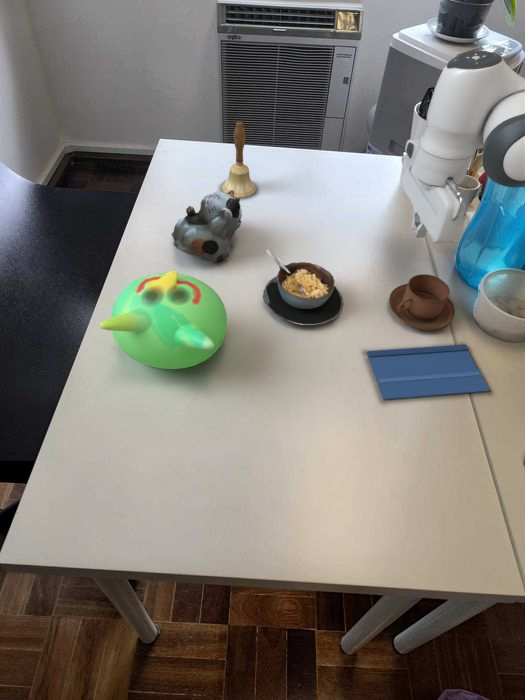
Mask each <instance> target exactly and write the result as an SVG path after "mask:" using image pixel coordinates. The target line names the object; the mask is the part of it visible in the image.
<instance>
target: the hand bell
mask: <svg viewBox="0 0 525 700" xmlns="http://www.w3.org/2000/svg"><path fill="white" fill-rule="evenodd" d="M235 124H236V125H235V128H234V131H233V143H234V147H235V163H233V164H232V165H231V166H230V167H229V174H228V178H227V179H226V181H224V182H223V183H222V186H221V190H222V192H225V193H228V192H229V191H231V190H233V191H234V199H236V198H239V199H245V198H249V197H252V196H253V195H254V194H256V191H257V186H256V184H255V183H254V182H253V181H252V179H251V176H250V168H249V166H247V164H244V148H245V144H246V131H245V127H244V124H243V121H240V120H239V121H236V123H235Z"/></svg>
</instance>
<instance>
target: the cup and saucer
mask: <svg viewBox="0 0 525 700" xmlns="http://www.w3.org/2000/svg"><path fill="white" fill-rule="evenodd" d="M450 294H451V290H450V287H449V285H448V284H447V283H446V282H445V281H444V280H443V279H441V278H439V277H438V276H435V275H433V274H425V273H424V274H423V273H422V274H421V273H420V274H417V275H414V276H412V277H411V278H410V279H409V281H408V283H405V284H401V285H398V286H396V287H395V288H394V289H393V290H392V291H391V293H390V295H389V298H388V300H389V301H388V303H389V307H390V310H391V312H392V313H393V315H395V317H396V318H397V319H398V320H400V321H401V322H402V323H404V324H405V325H408V326H409V327H412V328H414V329H418V330H424V331H425V330H426V331H431V330H432V331H433V330H439V329H443V328H444V327H447V326H448V325H449V324H450V323H451V322H452V321H453V320H454V318H455V314H456V313H455V312H456V310H455V306H454V304H453V302H452V300H451V299H450V298H449V297H450Z"/></svg>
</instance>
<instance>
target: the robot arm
mask: <svg viewBox="0 0 525 700" xmlns="http://www.w3.org/2000/svg"><path fill="white" fill-rule="evenodd" d="M478 149H482V168H483V171H484V172H485V174H486V176H487V177H488V178H489V179H490V180H491V181H492V182H493V183H496V184H497V185H499V186H502V187H507V188H524V187H525V77H523V76H521V75H520V74H518V73H517V72H515V71H514V70H513V69H512V68H511V67H510V66H509V65H508V63H506V61H505V59H504V58H503V56H502V55H500V54H499V53H497V52H493V51H492V52H491V51H488V50H472V51H467V52H463V53H461V54H459V55H456V56H454V57H453V58H452V59H450V60H449V61H448V62H447V63H446V65H445V66H444V68H443V70H442V71H441V73H440V75H439V77H438V80H437V82H436V85H435V88H434V90H433V92H432V95H431V99H430V102H429V105H428V109H427V112H426V123H425V128H424V131H423V133H422V134H421V136H420V138H412V139H411V138H410V139H407V141H406V144H405V148H404V152H405V154H404V159H403V161H402V165H401V171H400V186H401V188H402V190H403V192H404V193H405V194H406V196H407V198H408V200H409V202H410V203H411V205H412V207H413V209H412V224H411V226H410V228H411V230H412V232H413V234H414V235H415V237H416V238H417V239H423V238H425V237H426V235H427V233H428V235H429V236H430V238H431V240H432V242H433V243H434V244H450V243H453V242H455V241H456V240H457V239H458V237H459V234H460V231H461V228H462V225H463V221H464V219H465V214H466V209H467V204H466V201H465V199H464V192H463V191H462V189H460V188H459V186H458V185H460V184H461V183H463V181H464V180H465V178H466V176H467V173H468V170H469V168H470V165H471V163H472V160H473V157H474V155H475V152H476V151H477V150H478Z"/></svg>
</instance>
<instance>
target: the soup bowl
mask: <svg viewBox="0 0 525 700" xmlns="http://www.w3.org/2000/svg"><path fill="white" fill-rule="evenodd" d="M266 254H267V255H269V257H271V258H272V259H273V260H274V262H275V263H276V264H277V265H278V267H279V270H278V272H277V275H276V276H275V277H272V278H271V279H270V280H269V281H268V283H266V285H265V288H264V289H263V294H262V298H263V301H264V303H265V305H266V306H267V307H268V309H269V310H270V311H271V312H272V313H274V314H275V315H277V316H278V317H279V318H281V319H283V320H284V321H287V322H289V323H293V324H294V325H295V324H296V325H301V326H314V325H321V324H325V323H328V322H333V321H335V319H337V318H338V317H339V315H340V314H341V312H342V311H343V308H344V299H343V296H342V294H341V292H340V291H339V289H338V288H337V286H335V285H336V283H335V282H336V280H335V279H334V276H333V274H332V273H331V272H330V270H329V271H328V270H327V269H325V268H324V267H323V266H320V265H319V264H316V263H311V262H304V261H300V262H290V263H288V264H284V263H283V262H282V261H281V259H280V258H279V257H278V256H277V255H276V254H275V253H274V252H273V251H271V250H270V249H266Z"/></svg>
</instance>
